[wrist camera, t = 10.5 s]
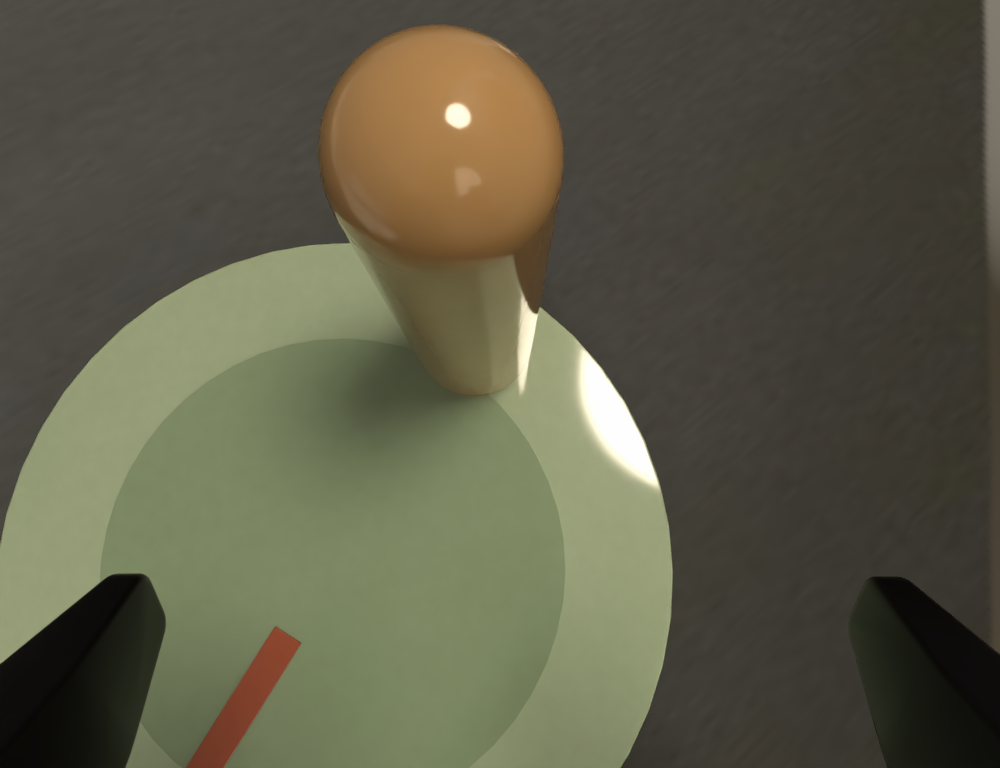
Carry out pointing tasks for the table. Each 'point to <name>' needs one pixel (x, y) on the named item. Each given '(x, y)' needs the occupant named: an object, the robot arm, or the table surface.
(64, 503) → the green disc with post
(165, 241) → the table surface
